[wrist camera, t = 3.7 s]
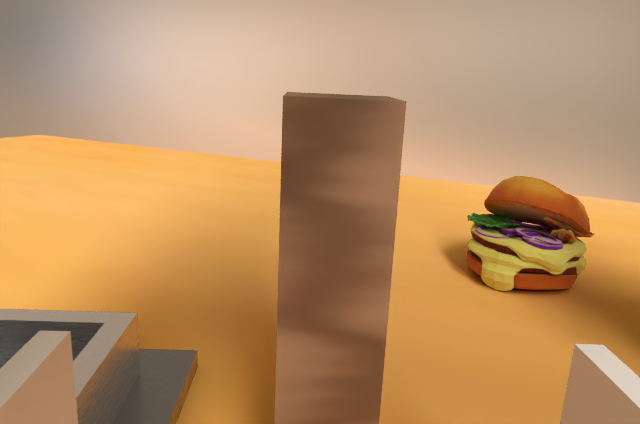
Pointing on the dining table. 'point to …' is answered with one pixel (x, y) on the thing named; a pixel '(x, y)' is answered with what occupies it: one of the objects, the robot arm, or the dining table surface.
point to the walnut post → (335, 254)
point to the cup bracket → (108, 365)
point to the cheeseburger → (529, 237)
